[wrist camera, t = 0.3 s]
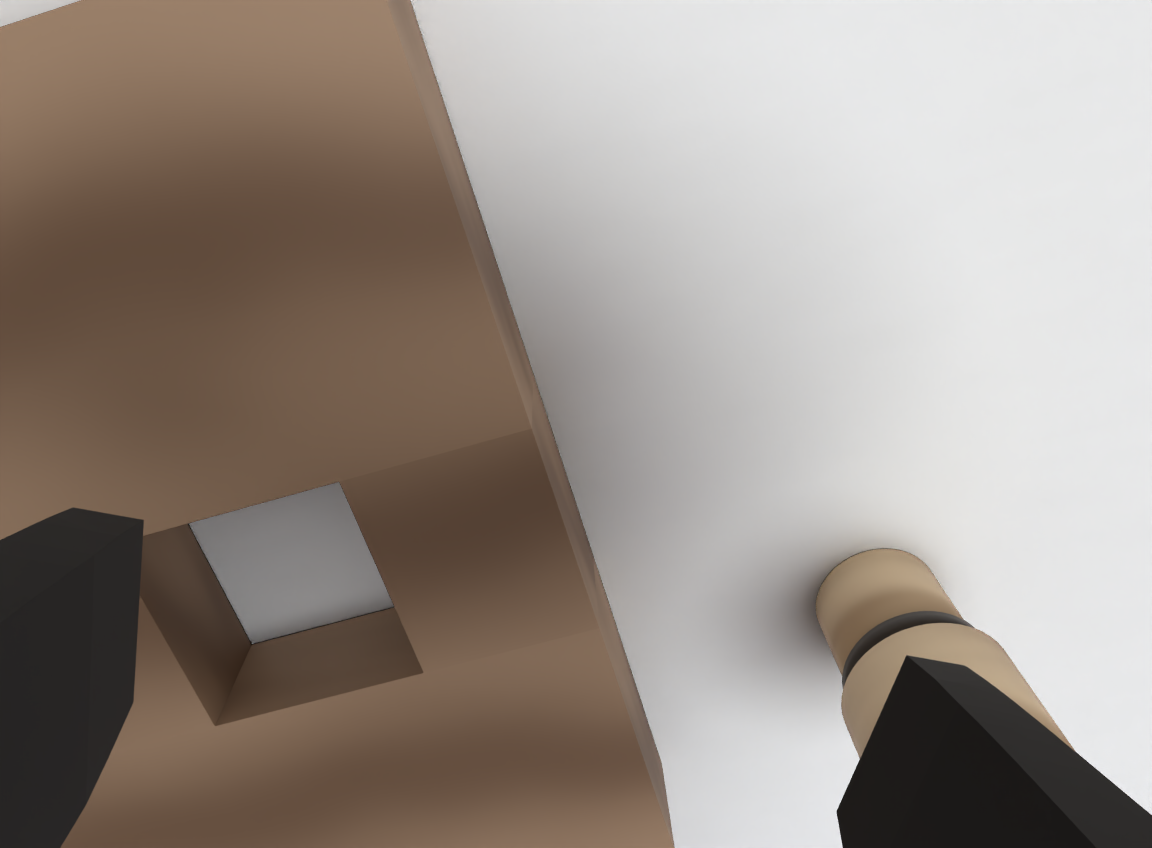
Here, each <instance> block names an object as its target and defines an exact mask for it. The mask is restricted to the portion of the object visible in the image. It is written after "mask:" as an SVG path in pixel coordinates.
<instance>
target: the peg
mask: <svg viewBox="0 0 1152 848" xmlns="http://www.w3.org/2000/svg"><path fill="white" fill-rule="evenodd" d="M816 615H817V619H818V622H819V624H820V626H821V629H822V631H823V633H824V636H825V638H826V640H827V642H828V645H829V647H830V649H831V652H832V654H833V656H834V658H835V661H836V663H837V665H838V668H839V670H840V672H841V674H842V684H843V693H842V702H841V707H842V715H843V718H844V721H845V724H846V726H847V729H848V731H849V734H850V736H851V738H852V741H853V743H854V746H855V748H856V751H857V753H858V755H859V758H861V756H862V753H863V751H864V749H865V747H866V745H867V742H868V740H869V738H870V736H871V733H872V731H873V729H874V727H875V724H876V722H877V720H878V718H879V715H880V713H881V711H882V709H883V706H884V704H885V702H886V700H887V697H888V695H889V693H890V691H891V688H892V686H893V684H894V682H895V680H896V677H897V675H898V673H899V671H900V668H901V666H902V664H903V662H904V659H905V657H906V655H909V656H914V657H920V658H926V659H931V660H937V661H943V662H948V663H954V664H960V665H965V666H966V667H968V668H970V669H971V670H972V671H974V672H975V673H977V674H978V675H980V676H981V677H983V678H984V679H985V680H987V681H988V682H989V683H991V684H992V685H993V686H995V687H996V688H998V689H999V690H1000V691H1001V692H1003V693H1004V694H1005V695H1007V696H1008V697H1009V698H1010V699H1012V700H1013V701H1014V702H1016V703H1017V704H1018V705H1019V706H1020V707H1022V708H1023V709H1024V710H1025V711H1027V712H1028V713H1029V714H1030V715H1032V716H1033V717H1034V718H1035V719H1037V720H1038V721H1039V722H1040V723H1041V724H1043V725H1044V726H1045V727H1046V728H1048V729H1049V730H1050V731H1051V732H1052V733H1054V734H1055V735H1056V736H1057V737H1058V738H1060V739H1061V740H1062V741H1063V742H1064V743H1066V744H1067V745H1068V746H1069V747H1070V748H1072V749H1073V747H1072V746H1071V744H1070V743H1069V742H1068V740H1067V739H1066V737H1065V736H1064V735H1063V733H1062V732H1061V730H1060V729H1059V727H1058V726H1057V725H1056V723H1055V722H1054V720H1053V719H1052V717H1051V716H1050V715H1049V713H1048V712H1047V710H1046V709H1045V707H1044V706H1043V705H1042V703H1041V702H1040V700H1039V699H1038V697H1037V696H1036V695H1035V693H1034V692H1033V690H1032V689H1031V688H1030V686H1029V685H1028V683H1027V682H1026V680H1025V679H1024V678H1023V676H1022V675H1021V673H1020V672H1019V670H1018V669H1017V668H1016V666H1015V665H1014V663H1013V662H1012V660H1011V659H1010V658H1009V656H1008V655H1007V653H1006V652H1005V650H1004V649H1003V648H1002V647H1001V646H1000V645H999V643H998V642H997V641H995V640H994V639H993V638H992V637H990V636H989V635H987V634H985V633H984V632H982V631H980V630H977V629H975V628H974V627H973V626H972V625H970V624H969V623H968V622H966V621H965V620H963V618H962V617H961V615H960V614H959V612H958V611H957V609H956V608H955V606H954V605H953V603H952V602H951V600H950V599H949V597H948V596H947V594H946V593H945V591H944V590H943V588H942V587H941V585H940V584H939V582H938V581H937V579H936V578H935V577H934V575H933V574H932V572H931V571H930V569H929V568H928V567H927V565H926V564H925V563H924V562H923V561H921V560H920V559H919V558H917V557H915V556H914V555H912V554H909V553H907V552H904V551H900V550H895V549H875V550H870V551H865V552H862V553H859V554H857V555H854V556H852V557H850V558H848V559H847V560H845V561H843V562H842V563H841V564H839V565H838V566H837V567H836V568H834V569H833V570H832V571H831V572H830V574H829V575H828V576H827V577H826V579H825V580H824V582H823V583H822V585H821V587H820V589H819V592H818V595H817V599H816ZM1073 750H1074V749H1073ZM1074 751H1075V750H1074Z"/></svg>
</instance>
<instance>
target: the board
mask: <svg viewBox="0 0 1152 848" xmlns="http://www.w3.org/2000/svg"><path fill="white" fill-rule="evenodd" d="M336 482H339V483H340V485H341V487H342V489H343V492H344V494H345V496H346V498H347V501H348V503H349V505H350V507H351V510H352V512H353V514H354V516H355V519H356V521H357V523H358V525H359V528H360V530H361V532H362V535H363V537H364V539H365V541H366V544H367V546H368V548H369V550H370V553H371V555H372V557H373V559H374V562H375V564H376V566H377V568H378V571H379V573H380V575H381V577H382V580H383V582H384V584H385V586H386V589H387V591H388V593H389V596H390V598H391V600H392V602H393V605H394V608H390V609H387V610H383V611H379V612H375V613H371V614H368V615H364V616H360V617H356V618H352V619H348V620H345V621H341V622H337V623H333V624H329V625H326V626H322V627H318V628H314V629H310V630H307V631H303V632H299V633H295V634H291V635H288V636H284V637H280V638H276V639H272V640H268V641H265V642H261V643H257V644H253V645H251V643H250V641H249V639H248V637H247V635H246V633H245V632H244V630H243V628H242V626H241V624H240V622H239V620H238V618H237V616H236V615H235V613H234V611H233V609H232V607H231V605H230V603H229V601H228V599H227V597H226V596H225V594H224V592H223V590H222V588H221V586H220V584H219V582H218V580H217V579H216V577H215V575H214V573H213V571H212V569H211V567H210V565H209V563H208V562H207V560H206V558H205V556H204V554H203V552H202V550H201V548H200V546H199V545H198V543H197V541H196V539H195V537H194V535H193V533H192V531H191V529H190V527H189V526H188V523H191V522H195V521H199V520H202V519H206V518H209V517H213V516H217V515H220V514H224V513H228V512H231V511H235V510H238V509H242V508H246V507H249V506H253V505H257V504H260V503H264V502H267V501H271V500H275V499H278V498H282V497H286V496H289V495H293V494H296V493H300V492H304V491H307V490H311V489H315V488H318V487H322V486H325V485H329V484H333V483H336ZM72 507H74V508H80V509H85V510H91V511H97V512H102V513H108V514H113V515H119V516H125V517H130V518H136V519H142V520H144V528H143V545H142V563H141V580H140V598H139V615H138V633H137V650H136V667H135V685H134V702H133V704H132V707H131V709H130V711H129V713H128V716H127V718H126V720H125V722H124V724H123V727H122V729H121V731H120V733H119V736H118V738H117V740H116V742H115V745H114V747H113V749H112V751H111V753H110V756H109V758H108V760H107V762H106V764H105V766H104V768H103V771H102V773H101V775H100V777H99V779H98V781H97V783H96V785H95V787H94V789H93V792H92V794H91V796H90V798H89V800H88V802H87V804H86V806H85V808H84V809H83V811H82V813H81V814H80V816H79V818H78V819H77V821H76V823H75V824H74V826H73V828H72V829H71V831H70V833H69V834H68V836H67V838H66V839H65V841H64V843H63V844H62V846H61V847H60V848H674V841H673V835H672V828H671V822H670V815H669V809H668V802H667V795H666V789H665V782H664V776H663V769H662V763H661V760H660V757H659V754H658V751H657V748H656V745H655V742H654V739H653V736H652V733H651V730H650V727H649V724H648V721H647V718H646V715H645V712H644V708H643V705H642V702H641V699H640V696H639V693H638V690H637V687H636V684H635V681H634V678H633V675H632V672H631V669H630V666H629V663H628V660H627V657H626V654H625V651H624V648H623V645H622V642H621V639H620V636H619V633H618V630H617V626H616V623H615V620H614V617H613V614H612V611H611V608H610V605H609V602H608V599H607V596H606V593H605V590H604V587H603V584H602V581H601V578H600V575H599V572H598V569H597V566H596V563H595V560H594V557H593V554H592V551H591V548H590V545H589V541H588V538H587V535H586V532H585V529H584V526H583V523H582V520H581V517H580V514H579V511H578V508H577V505H576V502H575V499H574V496H573V493H572V490H571V487H570V484H569V481H568V478H567V475H566V472H565V469H564V466H563V463H562V460H561V456H560V453H559V450H558V447H557V444H556V441H555V438H554V435H553V432H552V429H551V426H550V423H549V420H548V417H547V414H546V411H545V408H544V405H543V402H542V399H541V396H540V393H539V390H538V387H537V384H536V381H535V378H534V375H533V371H532V368H531V365H530V362H529V359H528V356H527V353H526V350H525V347H524V344H523V341H522V338H521V335H520V332H519V329H518V326H517V323H516V320H515V317H514V314H513V311H512V308H511V305H510V302H509V299H508V296H507V293H506V290H505V286H504V283H503V280H502V277H501V274H500V271H499V268H498V265H497V262H496V259H495V256H494V253H493V250H492V247H491V244H490V241H489V238H488V235H487V232H486V229H485V226H484V223H483V220H482V217H481V214H480V211H479V208H478V205H477V201H476V198H475V195H474V192H473V189H472V186H471V183H470V180H469V177H468V174H467V171H466V168H465V165H464V162H463V159H462V156H461V153H460V150H459V147H458V144H457V141H456V138H455V135H454V132H453V129H452V126H451V123H450V120H449V116H448V113H447V110H446V107H445V104H444V101H443V98H442V95H441V92H440V89H439V86H438V83H437V80H436V77H435V74H434V71H433V68H432V65H431V62H430V59H429V56H428V53H427V50H426V47H425V44H424V41H423V38H422V35H421V31H420V28H419V25H418V22H417V19H416V16H415V13H414V10H413V7H412V4H411V1H410V0H81V1H78V2H75V3H72V4H69V5H66V6H63V7H60V8H57V9H54V10H51V11H48V12H45V13H42V14H39V15H36V16H33V17H29V18H26V19H23V20H20V21H17V22H14V23H11V24H8V25H5V26H2V27H0V540H1V539H3V538H5V537H8V536H10V535H12V534H14V533H16V532H18V531H20V530H22V529H24V528H27V527H29V526H31V525H33V524H35V523H37V522H40V521H42V520H44V519H46V518H48V517H51V516H53V515H55V514H58V513H60V512H63V511H65V510H68V509H70V508H72Z"/></svg>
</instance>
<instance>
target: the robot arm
mask: <svg viewBox="0 0 1152 848" xmlns="http://www.w3.org/2000/svg"><path fill="white" fill-rule="evenodd" d="M143 528H144V520H142V519H136V518H130V517H125V516H119V515H113V514H108V513H102V512H97V511H91V510H85V509H80V508H74V507H72V508H70V509H68V510H65V511H63V512H60V513H58V514H55V515H53V516H51V517H48V518H46V519H44V520H42V521H40V522H37V523H35V524H33V525H31V526H29V527H27V528H24V529H22V530H20V531H18V532H16V533H14V534H12V535H10V536H8V537H5V538H3V539H1V540H0V848H60V847H61V846H62V844H63V843H64V841H65V839H66V838H67V836H68V834H69V833H70V831H71V829H72V828H73V826H74V824H75V823H76V821H77V819H78V818H79V816H80V814H81V813H82V811H83V809H84V808H85V806H86V804H87V802H88V800H89V798H90V796H91V794H92V792H93V789H94V787H95V785H96V783H97V781H98V779H99V777H100V775H101V773H102V771H103V768H104V766H105V764H106V762H107V760H108V758H109V756H110V753H111V751H112V749H113V747H114V745H115V742H116V740H117V738H118V736H119V733H120V731H121V729H122V727H123V724H124V722H125V720H126V718H127V716H128V713H129V711H130V709H131V707H132V704H133V702H134V685H135V667H136V650H137V633H138V615H139V598H140V580H141V563H142V545H143ZM837 817H838V823H839V828H840V834H841V840H842V845H843V848H1152V815H1151V814H1149V813H1148V812H1147V811H1146V810H1145V809H1143V808H1142V807H1141V806H1140V805H1139V804H1137V803H1136V802H1135V801H1134V800H1133V799H1131V798H1130V797H1129V796H1128V795H1127V794H1125V793H1124V792H1123V791H1122V790H1121V789H1119V788H1118V787H1117V786H1116V785H1115V784H1113V783H1112V782H1111V781H1110V780H1109V779H1107V778H1106V777H1105V776H1104V775H1103V774H1101V773H1100V772H1099V771H1098V770H1097V769H1095V768H1094V767H1093V766H1092V765H1091V764H1089V763H1088V762H1087V761H1086V760H1085V759H1083V758H1082V757H1081V756H1080V755H1079V754H1078V753H1076V752H1075V751H1074V750H1073V749H1072V748H1070V747H1069V746H1068V745H1067V744H1066V743H1064V742H1063V741H1062V740H1061V739H1060V738H1058V737H1057V736H1056V735H1055V734H1054V733H1052V732H1051V731H1050V730H1049V729H1048V728H1046V727H1045V726H1044V725H1043V724H1041V723H1040V722H1039V721H1038V720H1037V719H1035V718H1034V717H1033V716H1032V715H1030V714H1029V713H1028V712H1027V711H1025V710H1024V709H1023V708H1022V707H1020V706H1019V705H1018V704H1017V703H1016V702H1014V701H1013V700H1012V699H1010V698H1009V697H1008V696H1007V695H1005V694H1004V693H1003V692H1001V691H1000V690H999V689H998V688H996V687H995V686H993V685H992V684H991V683H989V682H988V681H987V680H985V679H984V678H983V677H981V676H980V675H978V674H977V673H975V672H974V671H972V670H971V669H970V668H968V667H966V666H965V665H960V664H954V663H948V662H943V661H937V660H931V659H926V658H920V657H914V656H909V655H906V657H905V659H904V662H903V664H902V666H901V668H900V671H899V673H898V675H897V677H896V680H895V682H894V684H893V686H892V688H891V691H890V693H889V695H888V697H887V700H886V702H885V704H884V706H883V709H882V711H881V713H880V715H879V718H878V720H877V722H876V724H875V727H874V729H873V731H872V733H871V736H870V738H869V740H868V742H867V745H866V747H865V749H864V751H863V753H862V756H861V758H860V760H859V762H858V765H857V767H856V769H855V771H854V774H853V776H852V778H851V780H850V783H849V785H848V787H847V789H846V792H845V794H844V796H843V798H842V801H841V803H840V805H839V807H838V809H837Z"/></svg>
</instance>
